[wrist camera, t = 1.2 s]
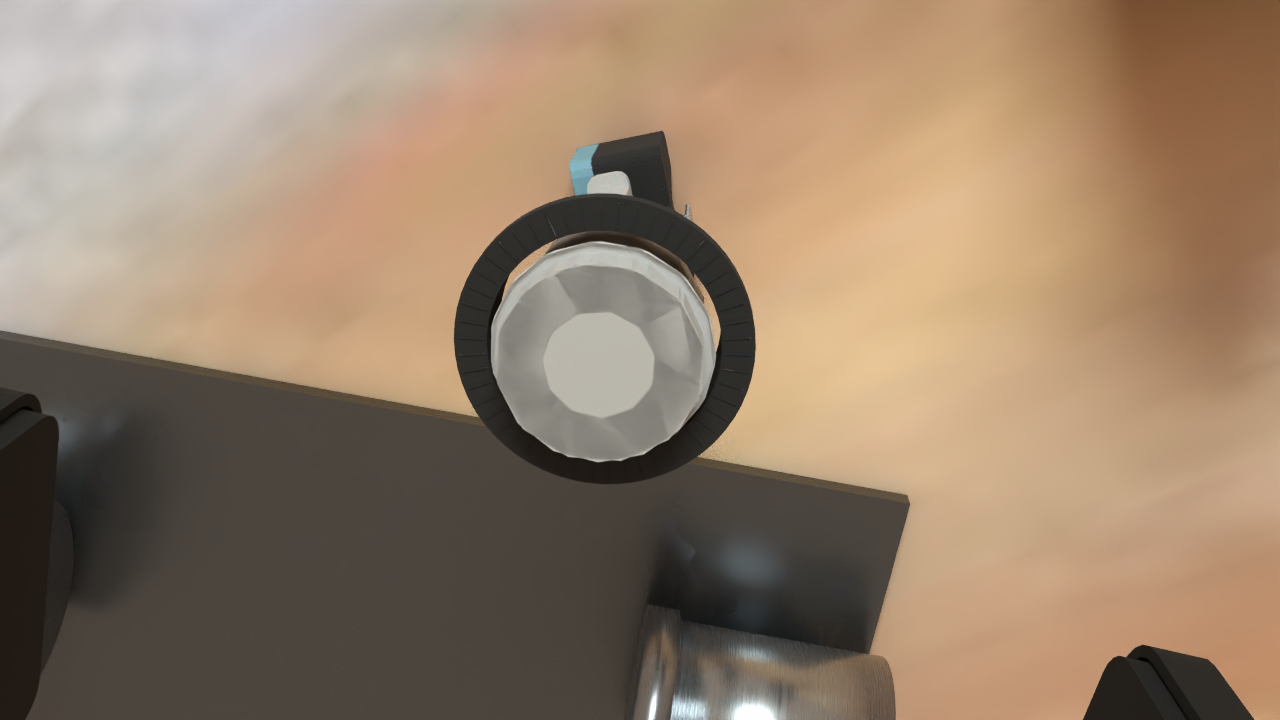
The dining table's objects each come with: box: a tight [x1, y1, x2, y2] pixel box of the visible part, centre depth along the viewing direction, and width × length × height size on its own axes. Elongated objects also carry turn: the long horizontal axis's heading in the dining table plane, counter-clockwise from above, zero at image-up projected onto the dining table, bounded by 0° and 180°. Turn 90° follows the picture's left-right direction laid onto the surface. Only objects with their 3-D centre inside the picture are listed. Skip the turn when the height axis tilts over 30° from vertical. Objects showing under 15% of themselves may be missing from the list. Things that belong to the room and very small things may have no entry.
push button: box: [454, 131, 756, 484], centre depth 25 cm, size 7×5×10 cm
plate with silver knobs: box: [0, 331, 910, 720], centre depth 30 cm, size 28×12×6 cm, turn 80°
